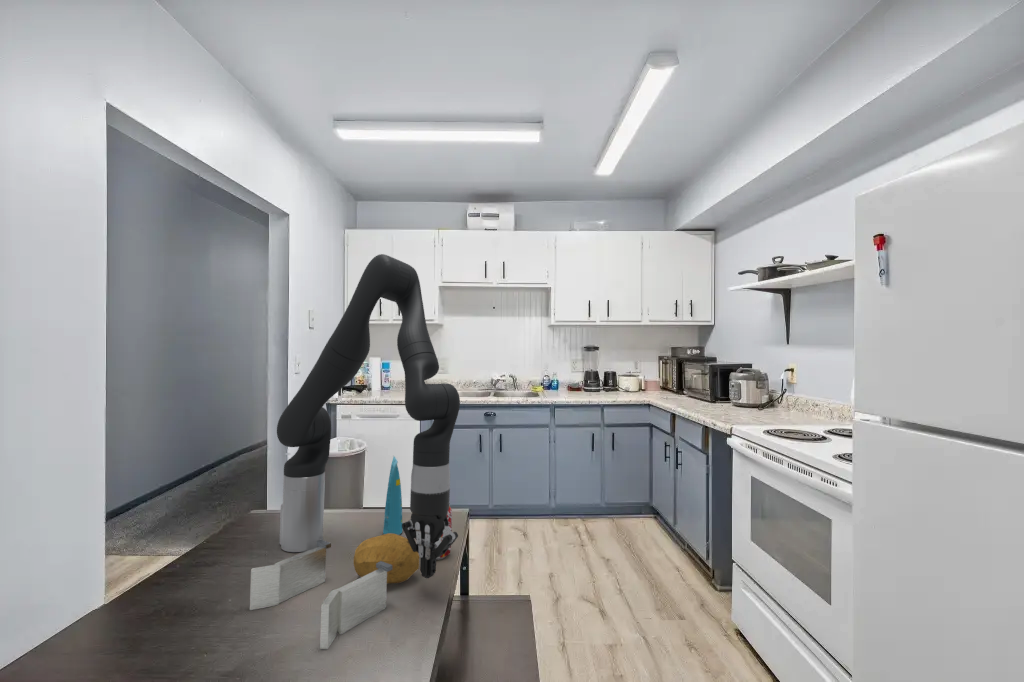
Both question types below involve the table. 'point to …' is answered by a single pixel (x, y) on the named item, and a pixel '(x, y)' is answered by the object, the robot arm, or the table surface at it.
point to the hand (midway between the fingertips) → (427, 575)
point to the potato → (387, 557)
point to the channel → (308, 572)
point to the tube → (393, 502)
